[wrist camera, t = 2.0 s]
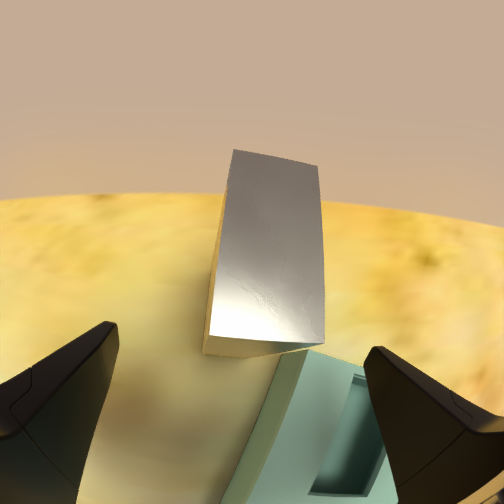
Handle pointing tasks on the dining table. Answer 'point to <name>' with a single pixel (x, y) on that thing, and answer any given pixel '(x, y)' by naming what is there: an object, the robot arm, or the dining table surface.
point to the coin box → (314, 439)
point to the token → (267, 260)
